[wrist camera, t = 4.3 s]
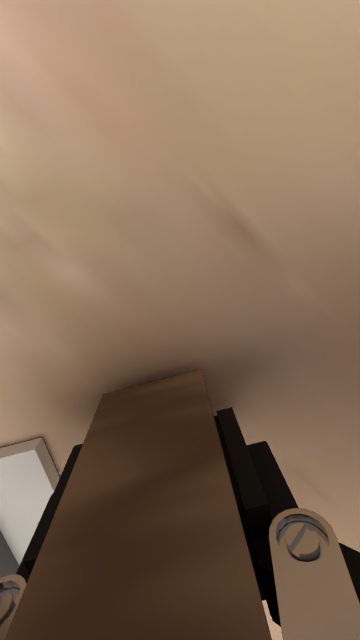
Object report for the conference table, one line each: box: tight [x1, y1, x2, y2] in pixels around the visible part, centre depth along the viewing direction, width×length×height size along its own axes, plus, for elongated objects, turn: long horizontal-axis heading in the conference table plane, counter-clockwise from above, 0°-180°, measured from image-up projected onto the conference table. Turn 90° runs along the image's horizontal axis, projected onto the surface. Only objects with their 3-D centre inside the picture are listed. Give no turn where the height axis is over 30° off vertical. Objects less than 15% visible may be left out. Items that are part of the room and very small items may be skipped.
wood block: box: [4, 369, 272, 640], centre depth 8 cm, size 4×4×10 cm
